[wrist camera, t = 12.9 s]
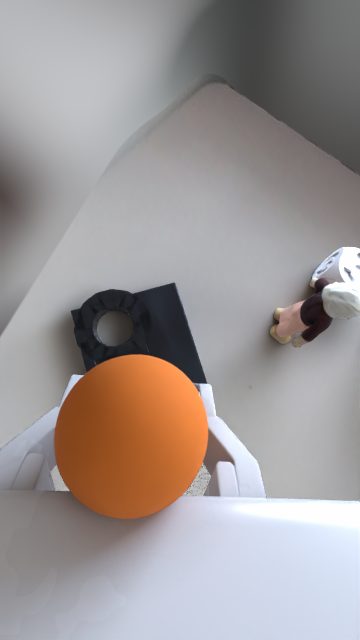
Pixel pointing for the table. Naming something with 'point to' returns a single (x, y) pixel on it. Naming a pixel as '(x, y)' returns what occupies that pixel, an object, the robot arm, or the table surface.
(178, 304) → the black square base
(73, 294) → the table surface
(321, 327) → the grandmother figurine
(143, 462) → the plug
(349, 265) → the die
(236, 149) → the table surface
